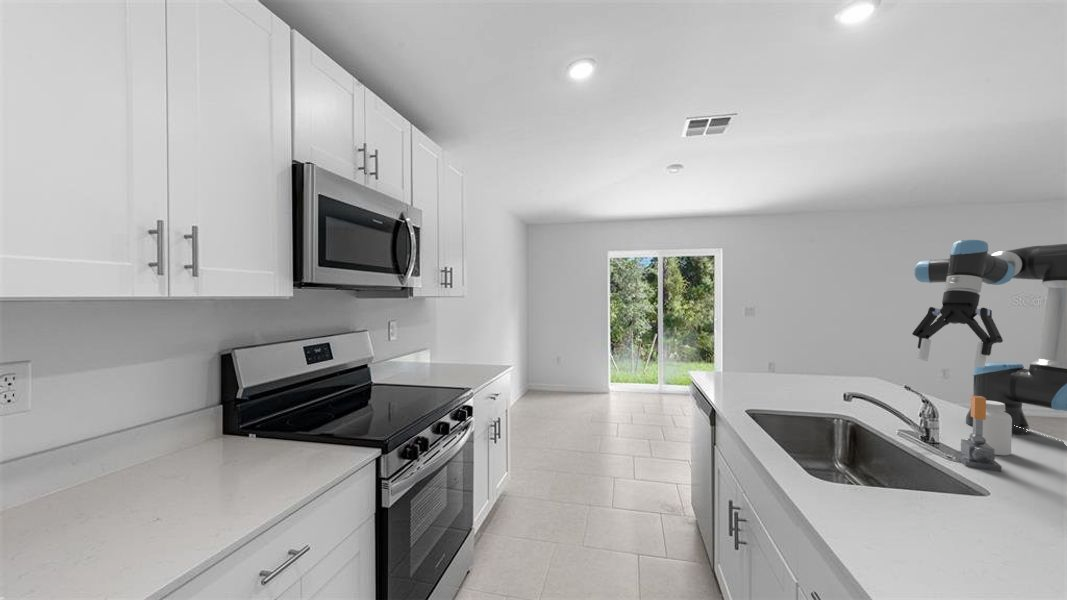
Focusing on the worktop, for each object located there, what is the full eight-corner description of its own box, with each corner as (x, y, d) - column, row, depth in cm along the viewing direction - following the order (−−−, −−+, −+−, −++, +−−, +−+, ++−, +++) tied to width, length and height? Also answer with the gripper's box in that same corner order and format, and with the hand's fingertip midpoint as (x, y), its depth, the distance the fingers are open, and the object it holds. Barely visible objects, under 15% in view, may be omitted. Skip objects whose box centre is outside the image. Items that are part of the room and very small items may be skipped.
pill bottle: (966, 447, 131) (967, 400, 130) (982, 444, 133) (983, 398, 133) (1000, 457, 123) (1002, 407, 123) (1017, 454, 126) (1019, 404, 125)
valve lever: (973, 444, 119) (974, 397, 118) (969, 440, 121) (970, 395, 121) (985, 445, 117) (986, 398, 117) (980, 441, 120) (981, 396, 120)
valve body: (965, 466, 118) (966, 446, 117) (954, 455, 125) (954, 436, 125) (1001, 471, 114) (1001, 450, 114) (987, 460, 122) (987, 440, 121)
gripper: (905, 290, 135) (893, 355, 133) (1010, 287, 111) (997, 366, 109) (922, 296, 136) (911, 360, 135) (1029, 294, 112) (1016, 372, 111)
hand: (949, 363), depth 122 cm, fingers open, 13 cm apart
